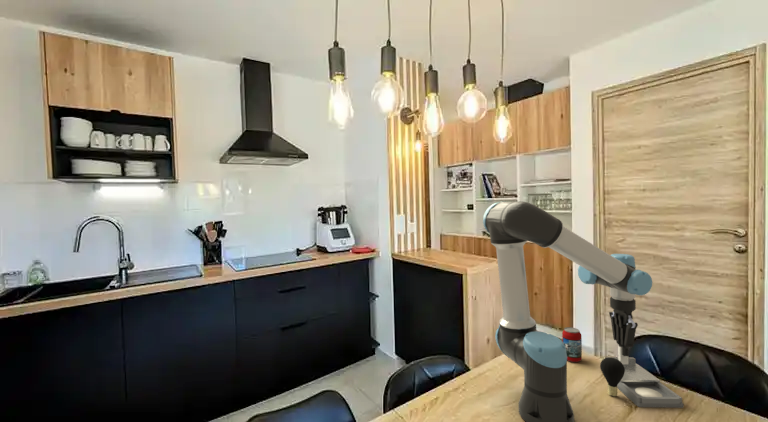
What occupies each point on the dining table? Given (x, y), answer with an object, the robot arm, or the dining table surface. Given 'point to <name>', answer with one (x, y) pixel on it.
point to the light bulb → (612, 373)
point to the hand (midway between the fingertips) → (623, 363)
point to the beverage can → (572, 344)
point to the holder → (650, 394)
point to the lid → (636, 372)
